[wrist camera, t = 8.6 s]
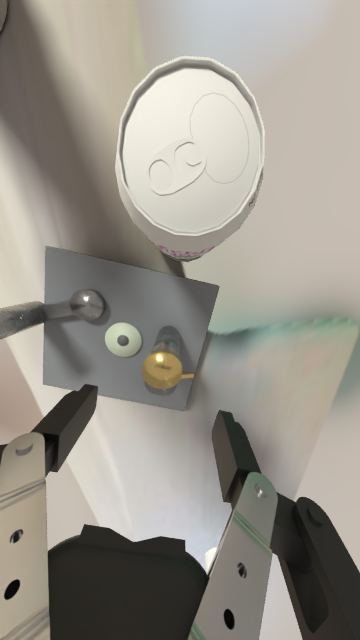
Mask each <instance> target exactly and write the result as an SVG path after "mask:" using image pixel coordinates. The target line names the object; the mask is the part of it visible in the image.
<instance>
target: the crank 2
mask: <svg viewBox="0 0 360 640" xmlns="http://www.w3.org/2000/svg"><path fill="white" fill-rule="evenodd" d="M179 343H180V335H179V332H178V330H177V329H176V328H174V327H172V326H165V327H163V328H161V329H160V330H159V332H158V335H157V338H156V340H155V343H154V346H153V349H152V351H151V353H150V354H149V355H148V356H147V357H146V359H145V361H144V363H143V366H142V375H143V378H144V379H145V380H144V384H145V387H146V389H147V390H148V391H149V392H150V393H152V394H155V395H163V394H166V393H167V392H169V391H170V389H171V387H173V386H175V385H176V384H177V383H178V382H179V381H180V379H181V377H182V362H181V360H180V358H179Z"/></svg>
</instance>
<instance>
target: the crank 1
mask: <svg viewBox="0 0 360 640" xmlns="http://www.w3.org/2000/svg"><path fill="white" fill-rule="evenodd" d="M105 309H106V303H105V300H104V298H103V296H102V295H101V294H100V293H99V292H98V291H96V290H93V289H84V290H79V291H77V292H75V293H74V294H73V295H72V297H71V300H70V301H64V302H58V303H51V304H45V305H44V304H43V303H41V302H38V301H33V302H29V303H24V304H19V305H14V306H10V307H5V308H0V339H3V338H6V337H8V336H11V335H13V334H16V333H19V332H21V331H24V330H26V329H29V328H32V327H34V326H37V325H40V324H42V323H45V322H46V321H47V320H48V319H50V318H56V317H63V316H69V315H75V316H76V317H78V318H79V319H81V320H84V321H93V320H95V319H97V318H99V317H100V316H102V315H103V313H104V312H105Z"/></svg>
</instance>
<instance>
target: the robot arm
mask: <svg viewBox="0 0 360 640" xmlns="http://www.w3.org/2000/svg"><path fill="white" fill-rule="evenodd" d="M6 12H7V0H0V31H1V29H2V27H3V24H4V21H5V18H6ZM97 393H98V386H96V385H90V384H84V385H83V387H82V388H81V389H80V390H79V391H72V392H70V393H68V394H67V395H65V396H64V397H63V398H62V399H61V400H60V401H59V403H57V404H56V406H55V407H54V408H53V409H52V410H51V411H50V412H49V413H48V414H47V415H46V416H45V417H44V418H43V419H42V420H41V421H40V423H39V424H38V425H37V426H36V427H35V428H34V429H33V430H32V431H31V432H30V433H26V434H23V435H21V436H18V437H17V438H15V439H14V440H12V441H11V442H10V443H9V444H5V445H0V640H259V635H260V629H261V623H262V616H263V610H264V604H265V597H266V592H267V585H268V579H269V572H270V566H271V560H272V553H274V554H276V555H277V556H278V559H279V562H280V566H281V569H282V572H283V575H284V579H285V582H286V585H287V589H288V592H289V595H290V599H291V602H292V605H293V608H294V612H295V615H296V618H297V622H298V625H299V629H300V632H301V635H302V639H303V640H360V573H359V570H358V569H357V567H356V565H355V563H354V562H353V560H352V558H351V556H350V554H349V553H348V551H347V549H346V547H345V546H344V544H343V542H342V540H341V538H340V536H339V535H338V533H337V531H336V529H335V528H334V526H333V524H332V522H331V520H330V519H329V517H328V516H327V514H326V513H325V512H324V511H323V510H322V509H321V507H320V506H319V505H317V504H316V503H315V502H314V501H312V500H311V499H309V498H306V497H300V498H299V499H298V500H297V502H294V501H292V500H290V499H288V498H286V497H285V496H283V495H281V494H279V493H277V492H276V490H275V488H274V486H273V485H272V483H271V482H270V481H269V480H268V479H267V478H266V477H265V476H264V475H262V473H261V471H260V468H259V466H258V463H257V461H256V458H255V456H254V453H253V451H252V448H251V447H250V443H249V441H248V438H247V436H246V433H245V430H244V429H243V428H242V426H241V425H240V424H239V423H237V422H235V421H234V418H233V415H232V413H231V412H226V411H221V410H219V412H218V414H217V417H216V420H215V423H214V426H213V429H212V441H213V447H214V452H215V458H216V464H217V469H218V475H219V480H220V486H221V491H222V497H223V502H228V503H231V506H232V512H231V514H230V517H229V519H228V522H227V524H226V527H225V530H224V532H223V535H222V537H221V540H220V542H219V545H218V548H217V550H216V553H215V555H214V558H213V560H212V562H211V565H210V567H209V570H208V572H207V573H206V571H205V570H204V569H203V567H202V566H201V565H200V563H199V562H198V561H197V560H196V559H195V558H194V557H193V556H191V555H190V554H189V553H187V552H186V551H185V540H181V539H175V538H168V537H162V536H160V537H156V538H151V539H147V540H143V541H138V542H132V541H130V540H129V539H127V538H125V537H123V536H122V535H120V534H118V533H117V532H115V531H113V530H112V529H110V528H105V527H99V526H92V525H86V524H84V527H83V529H82V532H81V534H80V535H77V536H74V537H71V538H69V539H66V540H64V541H62V542H60V543H59V544H57V545H56V546H54V547H53V548H52V549H50V550H49V551H48V549H47V510H46V509H47V507H46V481H45V478H46V476H47V475H48V473H49V472H50V471H52V472H58V470H59V469H60V467H61V466H62V464H63V462H64V461H65V459H66V458H67V456H68V454H69V453H70V451H71V450H72V448H73V446H74V445H75V443H76V441H77V440H78V438H79V437H80V435H81V433H82V432H83V430H84V429H85V427H86V425H87V424H88V422H89V421H90V419H91V417H92V416H93V413H94V411H95V408H96V402H97Z"/></svg>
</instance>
